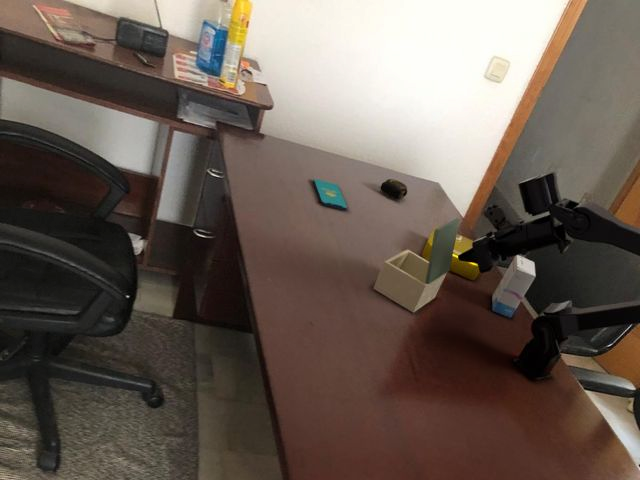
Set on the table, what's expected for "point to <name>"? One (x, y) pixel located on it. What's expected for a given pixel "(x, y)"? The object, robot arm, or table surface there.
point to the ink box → (513, 286)
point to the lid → (442, 250)
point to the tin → (407, 281)
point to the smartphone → (329, 194)
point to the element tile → (456, 257)
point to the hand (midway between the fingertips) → (458, 257)
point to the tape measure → (394, 188)
